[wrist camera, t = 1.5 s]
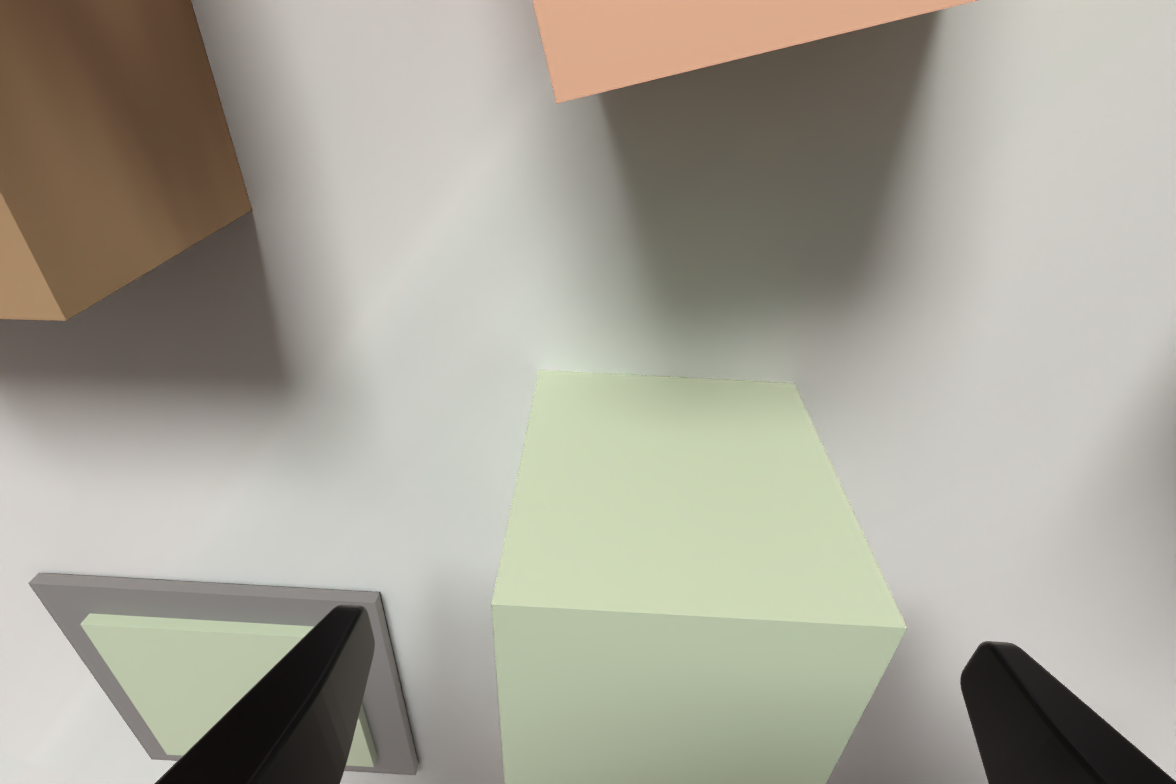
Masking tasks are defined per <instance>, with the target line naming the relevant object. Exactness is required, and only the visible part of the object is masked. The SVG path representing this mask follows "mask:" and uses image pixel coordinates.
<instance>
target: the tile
mask: <svg viewBox="0 0 1176 784" xmlns="http://www.w3.org/2000/svg"><path fill="white" fill-rule="evenodd" d="M29 585H30V586H31V588H32V589H33V590H34V592H35V593H36V595H37V596H38V598H39V599H40V600H41V602H42V603H43V605H44V606H45V608H46V609H47V610H48V612H49V613H50V615H51V616H52V618H53V619H54V620H55V622H56V623H57V625H58V626H59V628H60V629H61V630H62V632H63V633H64V635H65V636H66V638H67V639H68V640H69V642H70V643H71V645H72V646H73V648H74V649H75V650H76V652H77V653H78V655H79V656H80V658H81V659H82V660H83V662H84V663H85V665H86V666H87V668H88V669H89V670H90V672H91V673H92V675H93V676H94V678H95V679H96V681H97V682H98V683H99V685H100V686H101V688H102V689H103V691H104V692H105V693H106V695H107V696H108V698H109V699H110V701H111V702H112V703H113V705H114V706H115V708H116V709H117V711H118V712H119V713H120V715H121V716H122V718H123V719H124V721H125V722H126V723H127V725H128V726H129V728H130V729H131V731H132V732H133V733H134V735H135V736H136V738H137V739H138V741H139V742H140V743H141V745H142V746H143V748H144V749H145V751H146V752H147V753H148V755H149V756H150V758H151V759H156V760H173V761H178V760H179V759H180V758H181V757H182V756H183V755H184V754H185V753H186V752H187V751H188V750H189V749H190V748H191V747H192V746H193V745H194V744H195V743H197V742H198V741H199V740H200V739H201V738H202V737H203V736H204V735H205V734H206V733H207V732H208V731H209V730H210V729H211V728H212V727H213V726H214V725H215V724H216V723H217V722H218V721H219V720H220V719H221V718H222V717H223V716H224V715H225V714H226V713H227V712H228V711H229V710H230V709H231V708H232V707H233V706H234V705H235V704H236V703H237V702H238V701H239V700H240V699H241V698H242V697H243V696H244V695H245V694H246V693H247V692H248V691H249V690H250V689H251V688H252V687H253V686H254V685H255V684H256V683H257V682H259V681H260V680H261V679H262V678H263V677H264V676H265V675H266V674H267V673H268V672H269V671H270V670H271V669H272V668H273V667H274V666H275V665H276V664H277V663H278V662H279V661H280V660H281V659H282V658H283V657H284V656H285V655H286V654H287V653H288V652H289V651H290V650H291V649H292V648H293V647H294V646H295V645H296V644H297V643H298V642H299V641H300V640H301V639H302V638H303V637H304V636H305V635H306V634H307V633H308V632H309V631H310V630H311V629H312V628H313V627H314V626H315V625H316V624H317V623H318V622H319V621H321V620H322V619H323V618H324V617H325V616H326V615H327V614H328V613H329V612H330V611H331V610H332V609H333V608H334V607H336V606H338V605H342V604H345V605H362V606H364V607H365V608H366V609H367V611H368V614H369V618H370V622H371V626H372V630H373V634H374V638H375V650H374V656H373V660H372V664H371V668H370V672H369V676H368V680H367V684H366V688H365V692H364V696H363V701H362V705H361V709H360V713H359V717H358V721H357V725H356V729H355V733H354V737H353V741H352V745H351V749H350V752H349V756H348V760H347V763H346V766H345V769H344V771H356V772H373V773H389V774H406V775H416V771H417V767H418V761H417V757H416V752H415V748H414V744H413V739H412V735H411V730H410V726H409V722H408V717H407V713H406V708H405V704H404V700H403V695H402V691H401V686H400V682H399V677H398V673H397V669H396V664H395V660H394V655H393V651H392V647H391V642H390V638H389V633H388V629H387V625H386V620H385V616H384V611H383V607H382V603H381V598H380V594H379V592H365V591H348V590H330V589H313V588H295V587H278V586H260V585H242V584H225V583H207V582H190V581H172V580H155V579H137V578H120V577H102V576H85V575H67V574H50V573H38V574H37V575H36V576H35V577H34V578H33V579H32V580H31V581H30V582H29Z"/></svg>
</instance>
